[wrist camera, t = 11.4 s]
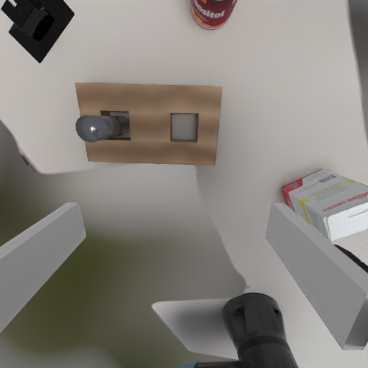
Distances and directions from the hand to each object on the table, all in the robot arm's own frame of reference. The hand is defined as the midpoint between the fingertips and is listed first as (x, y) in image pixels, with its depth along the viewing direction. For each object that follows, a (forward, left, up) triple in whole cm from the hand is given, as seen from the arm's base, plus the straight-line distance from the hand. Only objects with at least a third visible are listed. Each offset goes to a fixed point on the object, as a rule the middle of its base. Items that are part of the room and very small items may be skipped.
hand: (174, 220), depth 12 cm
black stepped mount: (+19, +22, -23) cm, 37 cm away
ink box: (-6, -25, -23) cm, 34 cm away
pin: (+5, +11, -23) cm, 25 cm away
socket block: (+5, +5, -23) cm, 24 cm away
